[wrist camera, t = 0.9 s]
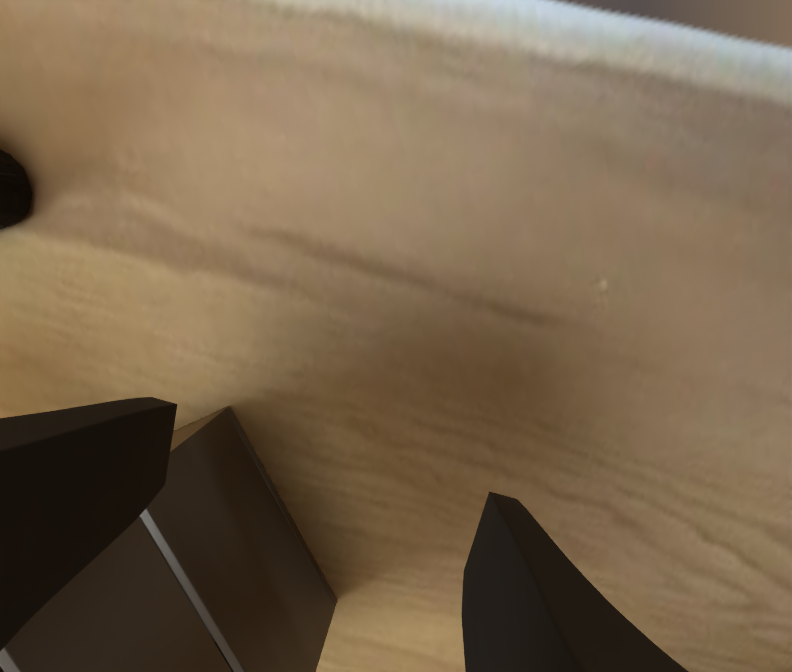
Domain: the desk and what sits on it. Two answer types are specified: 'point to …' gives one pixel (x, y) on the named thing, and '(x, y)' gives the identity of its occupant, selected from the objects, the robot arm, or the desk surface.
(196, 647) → the flap
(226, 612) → the carton
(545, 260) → the desk surface
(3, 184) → the film camera
